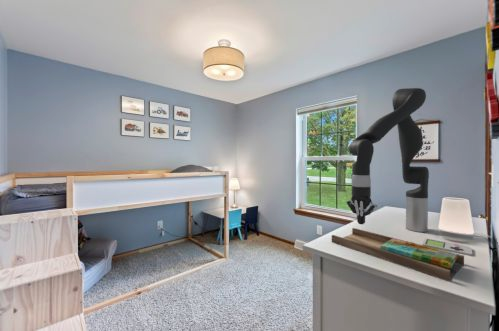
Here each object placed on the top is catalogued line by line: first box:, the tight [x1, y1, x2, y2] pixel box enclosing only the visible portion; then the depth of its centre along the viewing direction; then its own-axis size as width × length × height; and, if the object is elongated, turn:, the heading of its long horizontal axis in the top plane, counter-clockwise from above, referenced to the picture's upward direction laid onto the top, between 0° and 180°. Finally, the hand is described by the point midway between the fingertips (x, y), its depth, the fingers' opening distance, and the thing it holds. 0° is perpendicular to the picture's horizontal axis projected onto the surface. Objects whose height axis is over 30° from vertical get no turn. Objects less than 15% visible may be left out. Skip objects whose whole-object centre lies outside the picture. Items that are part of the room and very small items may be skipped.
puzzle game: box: [381, 238, 458, 268], centre depth 79 cm, size 12×5×20 cm
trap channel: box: [331, 227, 465, 282], centre depth 87 cm, size 18×40×3 cm, turn 35°
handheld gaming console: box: [421, 237, 473, 257], centre depth 92 cm, size 10×2×15 cm
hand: (361, 223), depth 97 cm, fingers closed
